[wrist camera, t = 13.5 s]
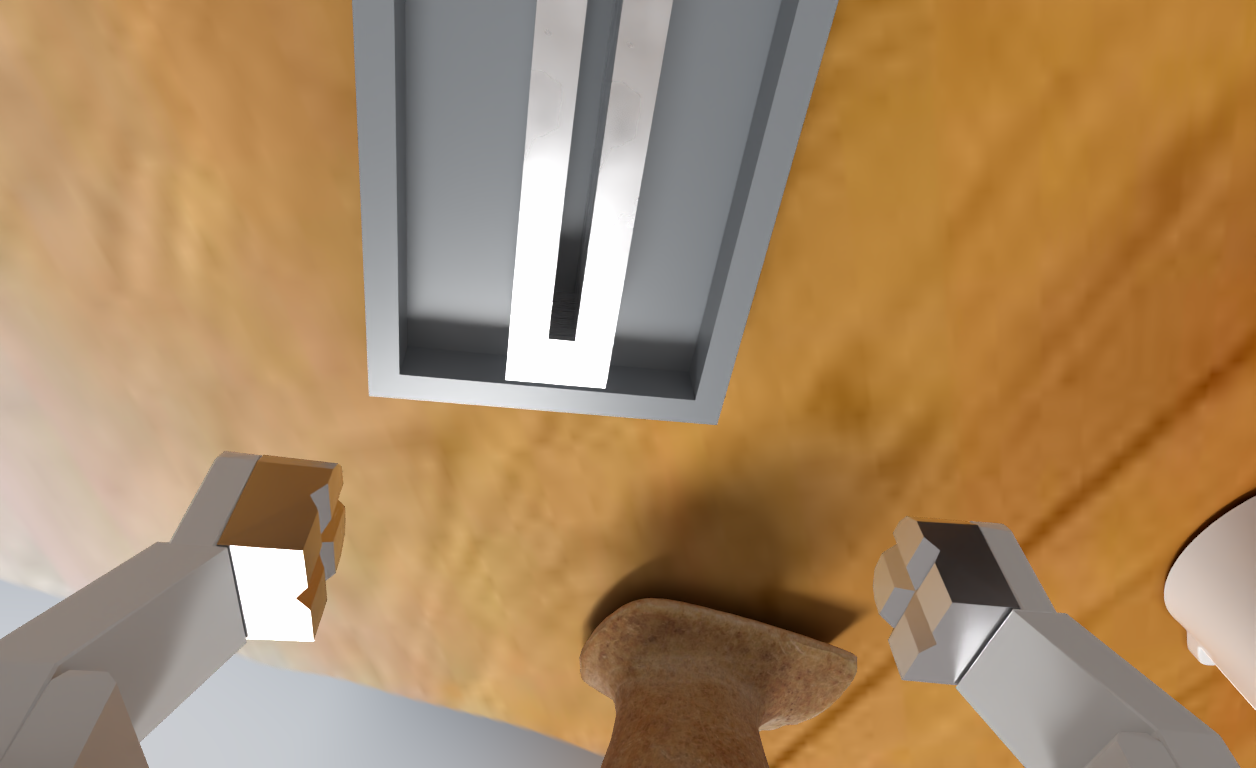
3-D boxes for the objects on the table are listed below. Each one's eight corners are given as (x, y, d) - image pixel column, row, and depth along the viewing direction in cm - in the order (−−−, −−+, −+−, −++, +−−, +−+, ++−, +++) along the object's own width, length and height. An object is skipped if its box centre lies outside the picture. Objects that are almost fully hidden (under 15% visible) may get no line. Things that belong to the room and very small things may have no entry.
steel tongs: (704, -268, 22) (725, -277, 19) (604, 338, 34) (607, 388, 31) (559, -299, 21) (558, -312, 19) (508, 329, 33) (503, 379, 30)
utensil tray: (902, -353, 22) (944, -370, 19) (706, 383, 37) (716, 424, 34) (358, -480, 20) (330, -517, 17) (382, 353, 35) (369, 396, 32)
